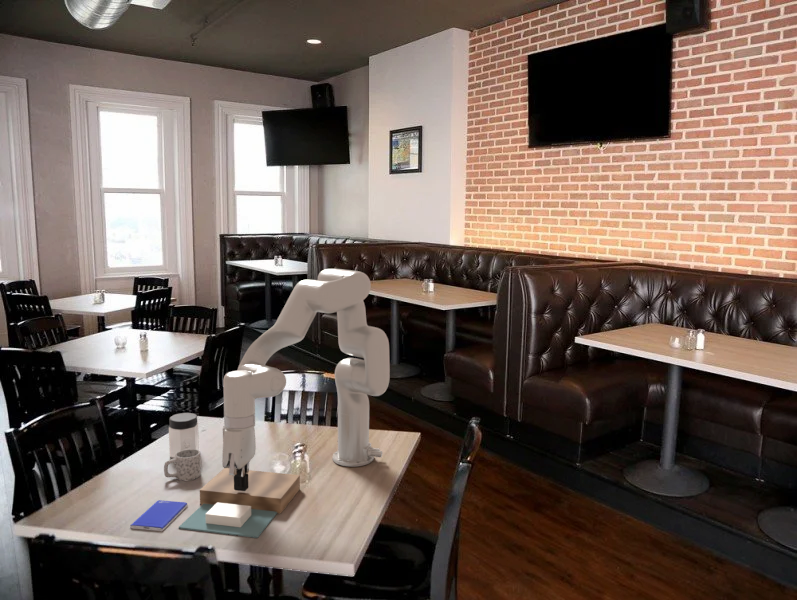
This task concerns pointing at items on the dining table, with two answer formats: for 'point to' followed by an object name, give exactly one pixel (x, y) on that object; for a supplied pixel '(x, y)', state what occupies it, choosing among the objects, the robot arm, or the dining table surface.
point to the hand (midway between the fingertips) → (241, 489)
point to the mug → (185, 465)
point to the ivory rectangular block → (228, 514)
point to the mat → (248, 529)
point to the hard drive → (159, 515)
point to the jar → (183, 433)
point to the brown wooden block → (252, 490)
